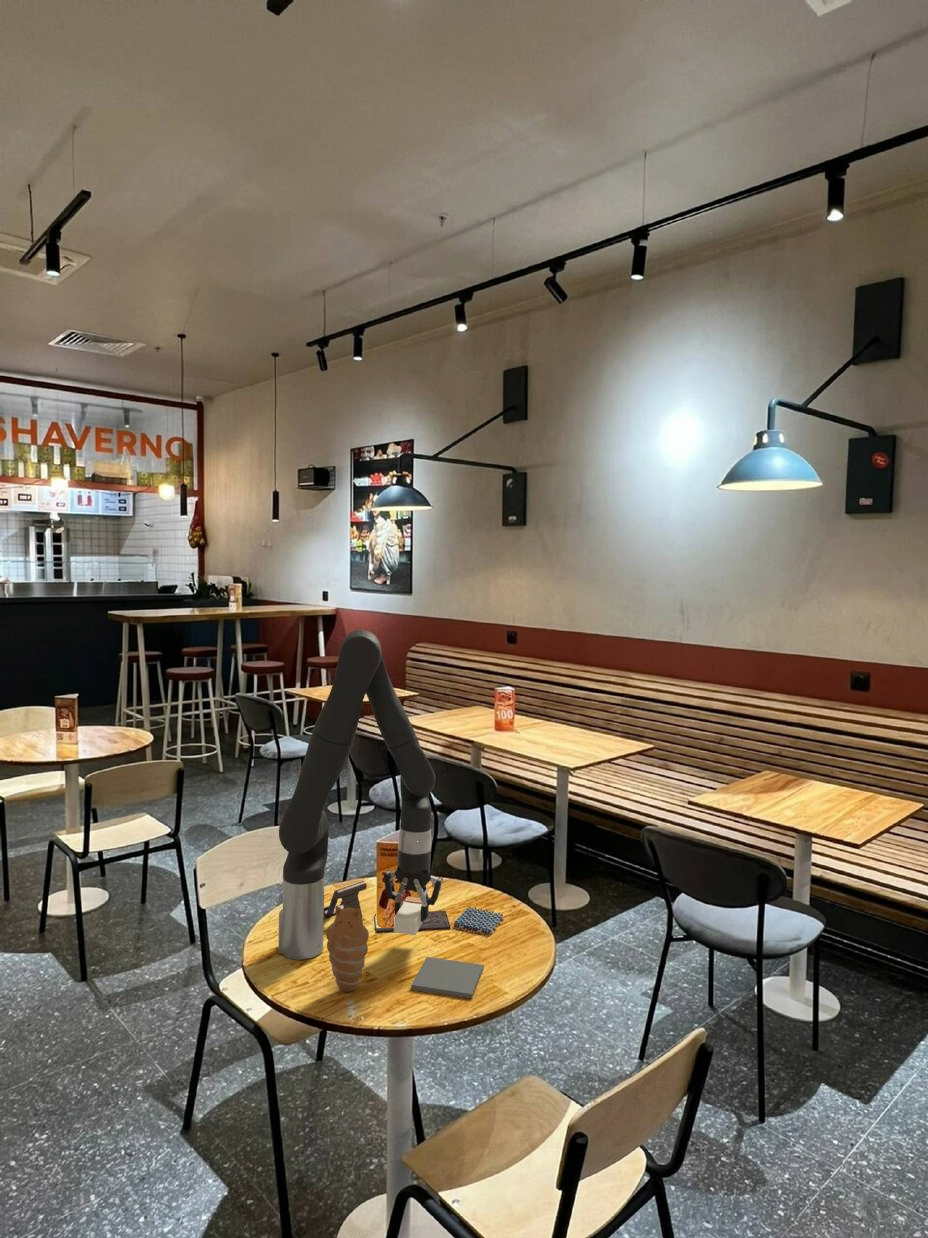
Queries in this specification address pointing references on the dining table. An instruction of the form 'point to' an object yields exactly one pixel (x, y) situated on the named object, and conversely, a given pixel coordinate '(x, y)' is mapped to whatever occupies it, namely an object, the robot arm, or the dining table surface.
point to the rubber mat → (448, 977)
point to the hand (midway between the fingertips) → (411, 918)
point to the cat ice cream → (347, 947)
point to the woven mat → (478, 921)
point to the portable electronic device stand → (345, 898)
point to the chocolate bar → (426, 922)
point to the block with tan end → (408, 917)
